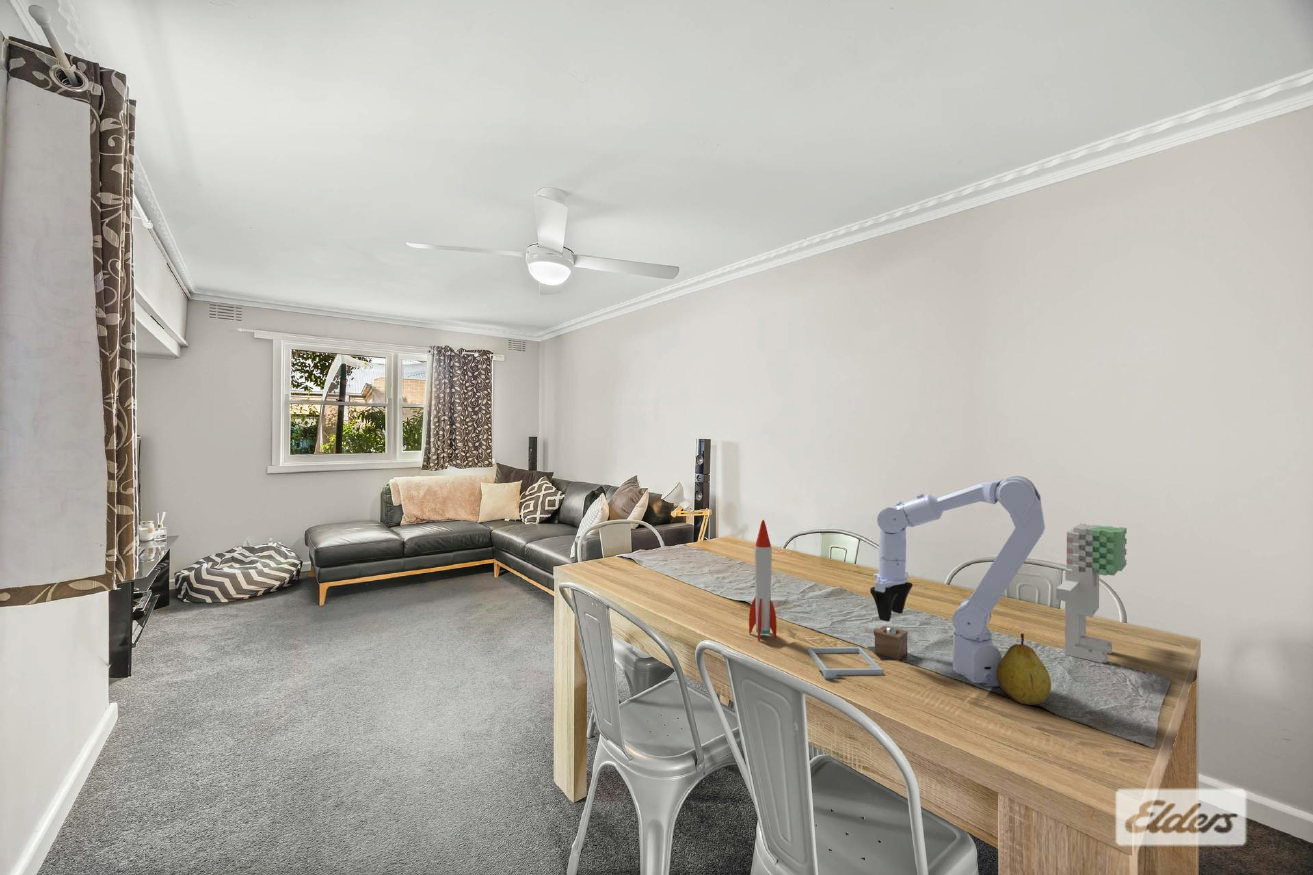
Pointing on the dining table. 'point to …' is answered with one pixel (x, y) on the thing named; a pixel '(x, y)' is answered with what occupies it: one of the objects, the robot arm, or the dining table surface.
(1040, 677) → the fruit
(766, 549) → the toy rocket
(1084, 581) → the toy
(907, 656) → the post
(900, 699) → the dining table surface
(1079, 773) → the dining table surface
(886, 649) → the collar
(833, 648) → the grey rectangular frame
